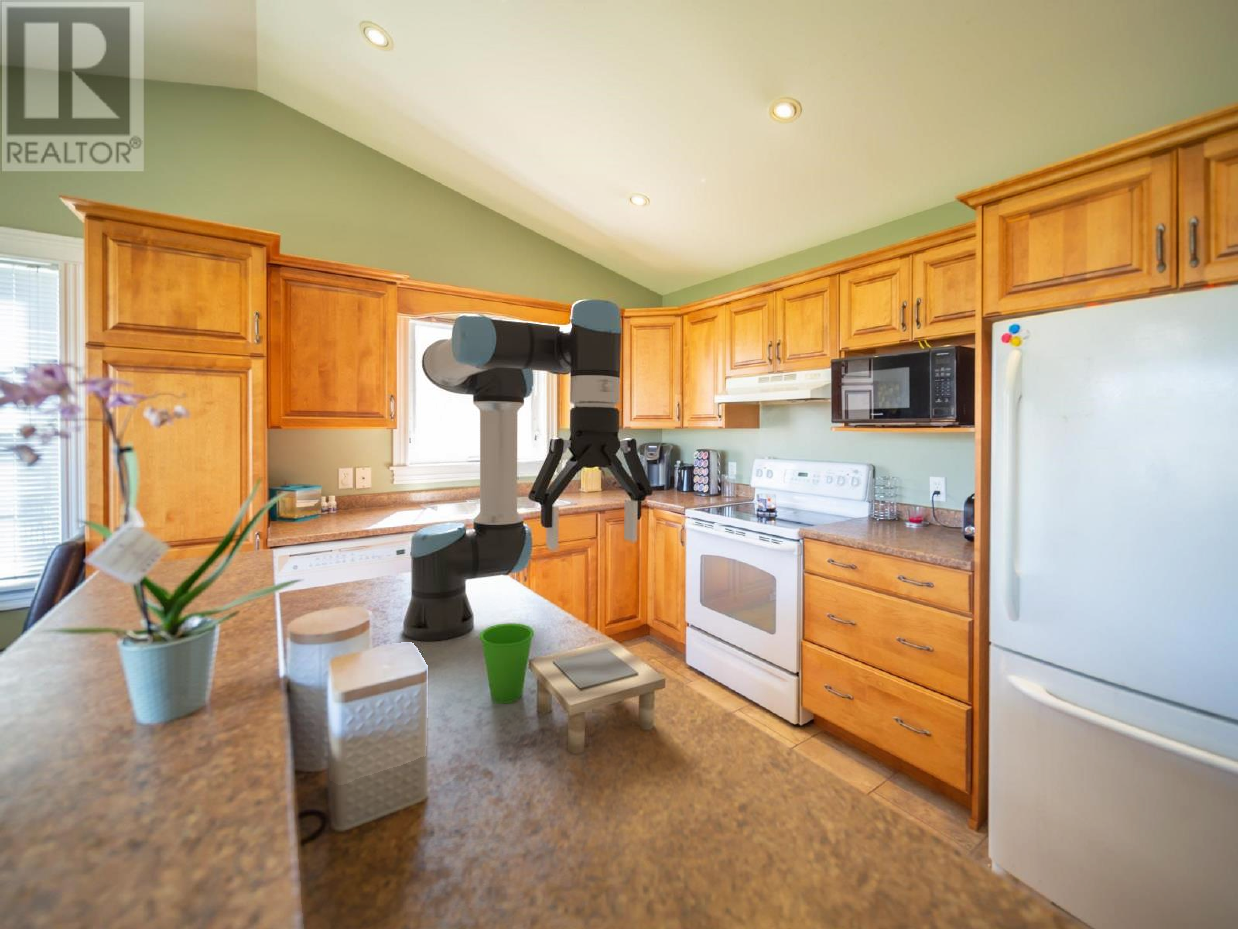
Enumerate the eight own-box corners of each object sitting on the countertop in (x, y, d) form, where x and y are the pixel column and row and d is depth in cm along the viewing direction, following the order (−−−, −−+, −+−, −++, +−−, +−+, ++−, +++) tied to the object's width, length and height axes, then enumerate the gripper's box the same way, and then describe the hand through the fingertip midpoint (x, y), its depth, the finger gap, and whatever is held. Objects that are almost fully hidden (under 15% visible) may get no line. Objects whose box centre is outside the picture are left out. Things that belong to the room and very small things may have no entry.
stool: (528, 706, 85) (528, 657, 84) (612, 683, 93) (613, 638, 92) (569, 761, 71) (570, 703, 70) (664, 728, 79) (665, 676, 79)
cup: (521, 713, 83) (522, 646, 82) (469, 706, 85) (469, 641, 84) (541, 686, 92) (541, 625, 91) (493, 680, 93) (493, 621, 93)
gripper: (525, 402, 68) (524, 559, 70) (676, 408, 81) (672, 541, 83) (507, 403, 75) (506, 547, 76) (649, 409, 88) (646, 532, 89)
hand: (592, 544), depth 79 cm, fingers open, 13 cm apart
